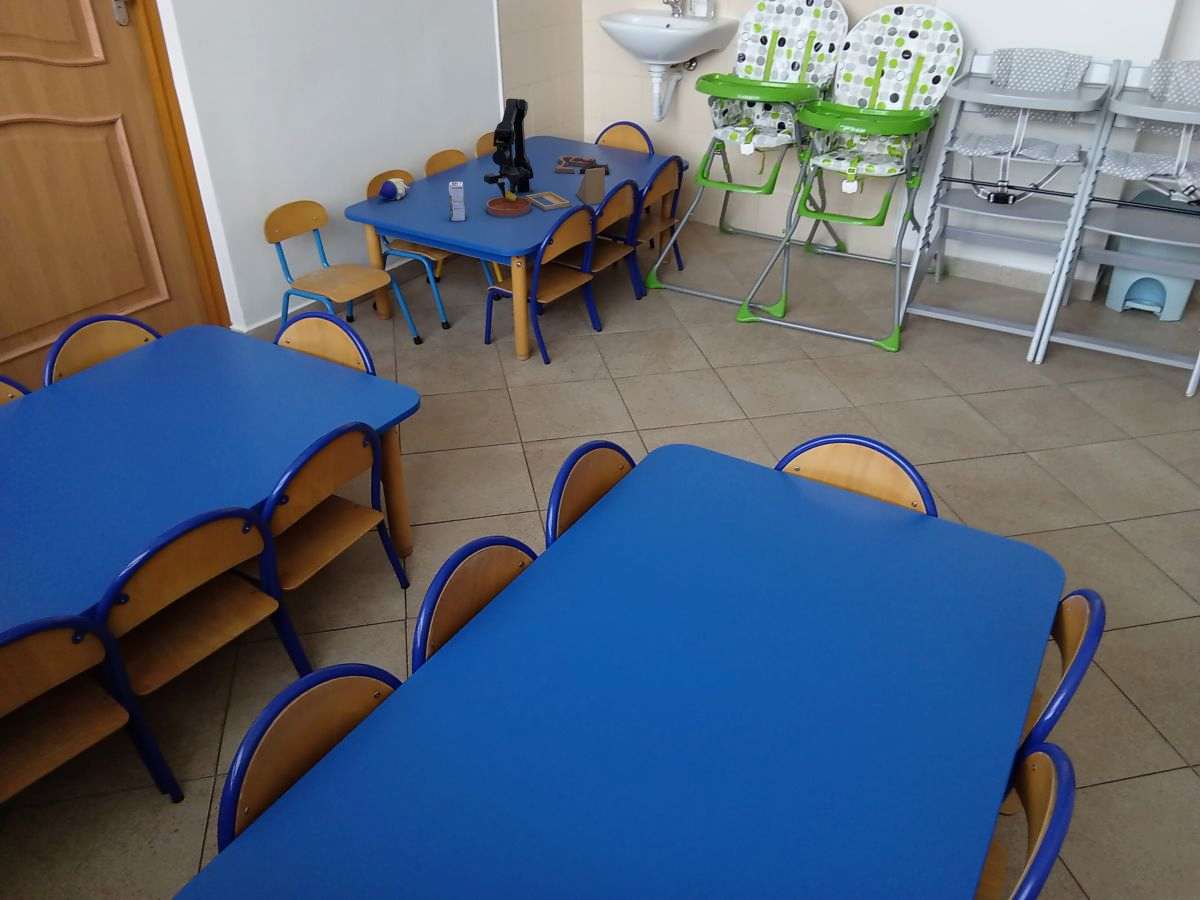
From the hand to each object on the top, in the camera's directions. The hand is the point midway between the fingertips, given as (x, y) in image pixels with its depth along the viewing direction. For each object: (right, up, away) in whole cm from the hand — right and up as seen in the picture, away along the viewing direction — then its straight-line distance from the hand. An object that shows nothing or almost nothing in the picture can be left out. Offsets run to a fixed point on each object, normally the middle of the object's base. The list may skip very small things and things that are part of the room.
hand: (508, 196), depth 373 cm
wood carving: (+31, +31, +59) cm, 73 cm away
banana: (0, -1, 0) cm, 1 cm away
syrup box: (-20, -11, -6) cm, 23 cm away
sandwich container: (+34, +4, +17) cm, 38 cm away
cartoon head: (-52, +4, +18) cm, 55 cm away
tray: (+16, 0, +11) cm, 19 cm away
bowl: (0, -5, +3) cm, 6 cm away
